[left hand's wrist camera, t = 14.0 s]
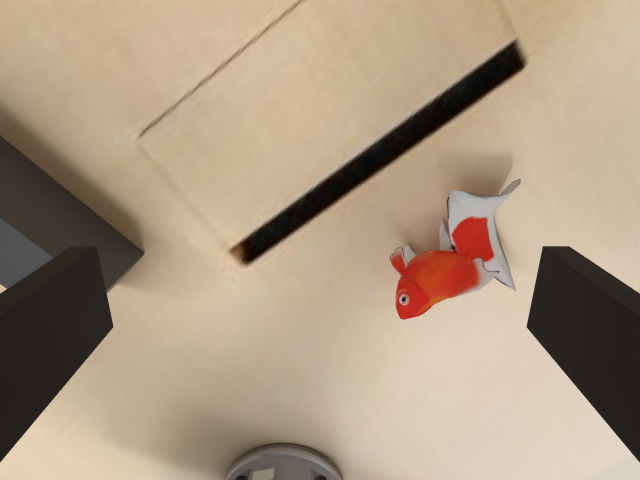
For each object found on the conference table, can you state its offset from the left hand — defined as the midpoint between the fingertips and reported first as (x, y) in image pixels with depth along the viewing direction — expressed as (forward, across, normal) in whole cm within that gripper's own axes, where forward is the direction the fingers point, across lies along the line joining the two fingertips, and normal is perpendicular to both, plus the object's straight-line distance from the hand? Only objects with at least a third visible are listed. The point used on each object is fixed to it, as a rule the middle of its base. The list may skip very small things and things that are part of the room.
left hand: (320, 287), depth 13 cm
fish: (+28, -12, +8) cm, 32 cm away
